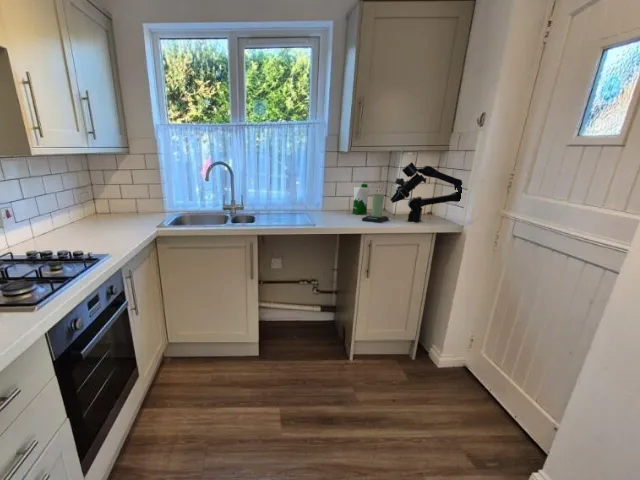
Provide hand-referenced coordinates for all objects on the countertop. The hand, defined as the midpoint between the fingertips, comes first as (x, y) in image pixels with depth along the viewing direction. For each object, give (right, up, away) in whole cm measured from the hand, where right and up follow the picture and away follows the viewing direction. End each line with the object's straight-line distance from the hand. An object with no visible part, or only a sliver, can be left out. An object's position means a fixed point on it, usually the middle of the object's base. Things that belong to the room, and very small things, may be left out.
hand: (391, 201), depth 223 cm
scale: (-8, -11, +5) cm, 15 cm away
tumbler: (-8, -8, +5) cm, 12 cm away
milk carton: (-11, -1, +32) cm, 34 cm away
